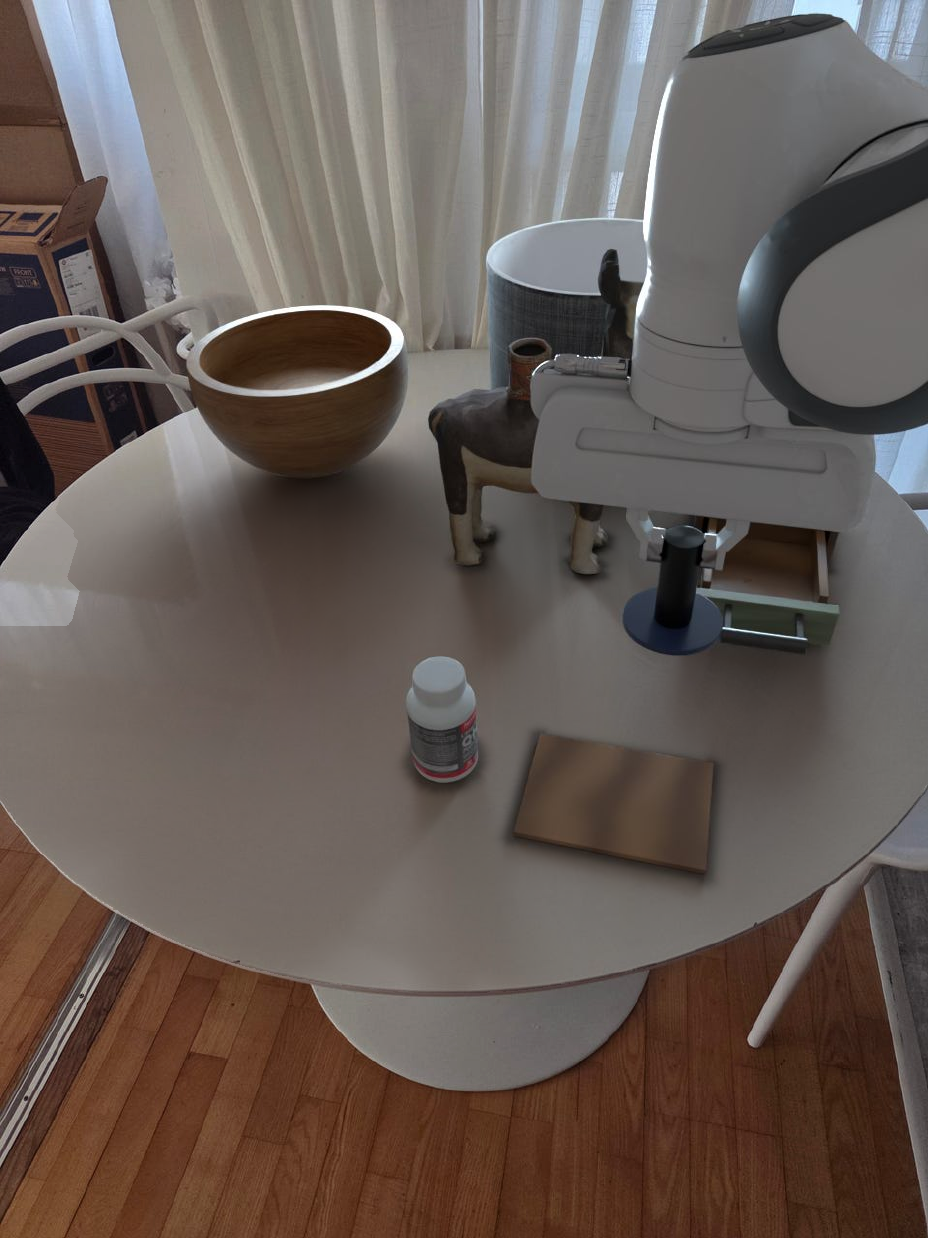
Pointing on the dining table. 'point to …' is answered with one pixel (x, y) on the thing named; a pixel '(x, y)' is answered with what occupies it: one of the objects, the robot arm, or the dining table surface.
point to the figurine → (519, 433)
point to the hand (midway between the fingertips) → (681, 560)
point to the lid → (675, 602)
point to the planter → (556, 285)
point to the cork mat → (618, 802)
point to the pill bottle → (442, 720)
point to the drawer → (772, 588)
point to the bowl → (301, 387)
